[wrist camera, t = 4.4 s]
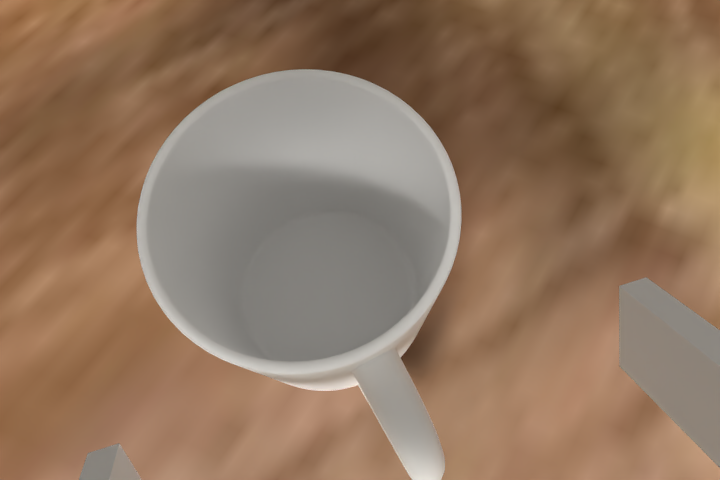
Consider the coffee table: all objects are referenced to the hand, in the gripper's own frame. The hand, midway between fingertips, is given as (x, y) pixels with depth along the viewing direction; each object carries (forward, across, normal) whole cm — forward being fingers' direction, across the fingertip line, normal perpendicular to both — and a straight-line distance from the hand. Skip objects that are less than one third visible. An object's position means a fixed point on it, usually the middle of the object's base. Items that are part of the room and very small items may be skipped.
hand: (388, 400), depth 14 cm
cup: (+8, 0, -4) cm, 9 cm away
